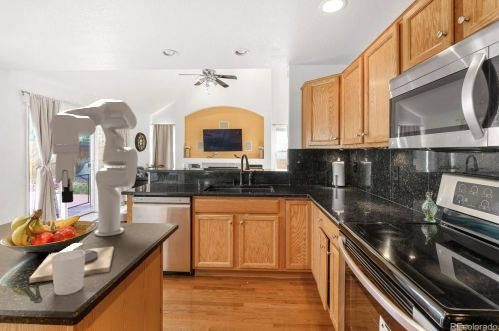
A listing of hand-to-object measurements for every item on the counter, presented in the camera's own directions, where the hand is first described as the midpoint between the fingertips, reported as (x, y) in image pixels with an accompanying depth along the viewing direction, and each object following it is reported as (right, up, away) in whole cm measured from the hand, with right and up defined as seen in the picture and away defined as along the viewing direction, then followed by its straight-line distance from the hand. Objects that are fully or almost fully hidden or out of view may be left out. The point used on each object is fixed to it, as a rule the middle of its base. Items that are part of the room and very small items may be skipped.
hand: (67, 202), depth 93 cm
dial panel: (+4, -22, -1) cm, 22 cm away
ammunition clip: (-17, -21, +11) cm, 29 cm away
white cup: (+13, -23, -18) cm, 31 cm away
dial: (+4, -20, -2) cm, 20 cm away
